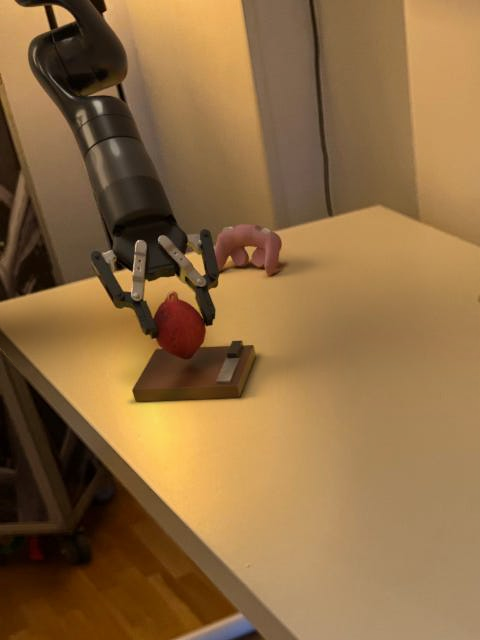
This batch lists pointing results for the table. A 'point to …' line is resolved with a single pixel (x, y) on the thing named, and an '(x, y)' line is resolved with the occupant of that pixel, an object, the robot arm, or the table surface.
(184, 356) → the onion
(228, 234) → the video game controller
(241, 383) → the cutting board
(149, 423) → the table surface
